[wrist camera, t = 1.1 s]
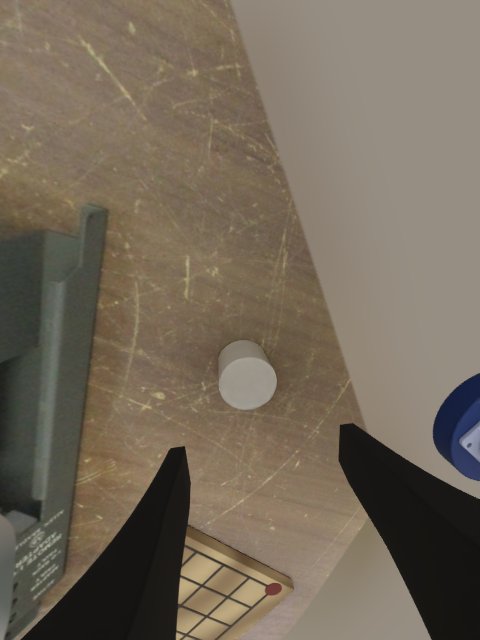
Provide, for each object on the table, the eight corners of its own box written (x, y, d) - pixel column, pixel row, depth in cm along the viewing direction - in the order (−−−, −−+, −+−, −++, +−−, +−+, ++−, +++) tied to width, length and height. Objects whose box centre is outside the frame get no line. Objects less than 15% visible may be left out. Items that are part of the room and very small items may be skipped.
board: (291, 578, 28) (294, 591, 27) (157, 696, 32) (156, 711, 31) (156, 509, 24) (153, 520, 23) (16, 655, 27) (8, 671, 26)
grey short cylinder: (276, 359, 21) (289, 380, 18) (244, 393, 22) (250, 420, 18) (240, 329, 20) (246, 345, 17) (207, 366, 20) (206, 389, 17)
